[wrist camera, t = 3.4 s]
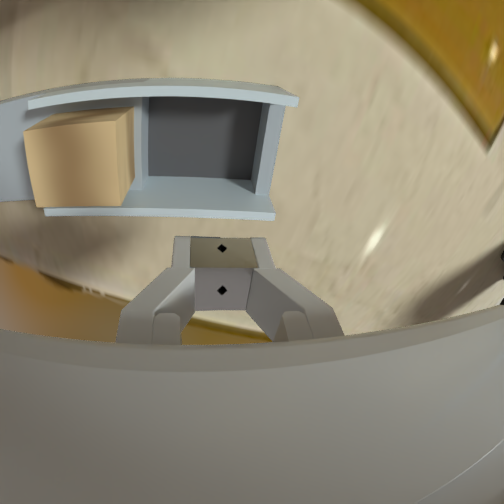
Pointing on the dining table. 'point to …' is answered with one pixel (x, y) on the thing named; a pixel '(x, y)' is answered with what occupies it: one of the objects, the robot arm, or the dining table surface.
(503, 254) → the coffee press
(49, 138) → the oak block
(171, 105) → the trap trough
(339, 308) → the dining table surface
